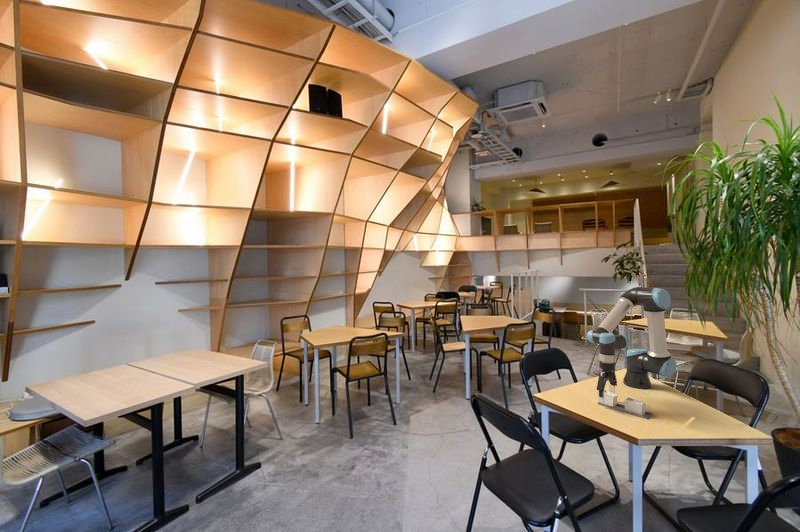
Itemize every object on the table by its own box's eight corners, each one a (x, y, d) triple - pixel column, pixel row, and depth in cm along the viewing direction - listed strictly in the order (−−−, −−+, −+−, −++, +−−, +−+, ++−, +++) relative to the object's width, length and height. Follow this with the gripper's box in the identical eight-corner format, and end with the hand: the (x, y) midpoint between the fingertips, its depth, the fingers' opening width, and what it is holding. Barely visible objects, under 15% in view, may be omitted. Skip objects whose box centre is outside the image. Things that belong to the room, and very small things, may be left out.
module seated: (628, 408, 199) (628, 396, 198) (645, 413, 192) (645, 400, 192) (624, 411, 195) (624, 398, 195) (641, 416, 189) (641, 403, 189)
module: (601, 399, 210) (602, 387, 209) (616, 405, 203) (617, 393, 202) (597, 401, 206) (598, 389, 206) (612, 407, 200) (614, 395, 199)
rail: (602, 401, 211) (602, 398, 211) (653, 416, 191) (653, 413, 191) (596, 405, 206) (596, 402, 206) (647, 421, 186) (647, 417, 186)
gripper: (609, 356, 215) (609, 392, 215) (589, 364, 200) (589, 403, 200) (623, 358, 209) (623, 396, 209) (604, 367, 194) (603, 407, 194)
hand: (606, 399), depth 205 cm, fingers open, 12 cm apart
